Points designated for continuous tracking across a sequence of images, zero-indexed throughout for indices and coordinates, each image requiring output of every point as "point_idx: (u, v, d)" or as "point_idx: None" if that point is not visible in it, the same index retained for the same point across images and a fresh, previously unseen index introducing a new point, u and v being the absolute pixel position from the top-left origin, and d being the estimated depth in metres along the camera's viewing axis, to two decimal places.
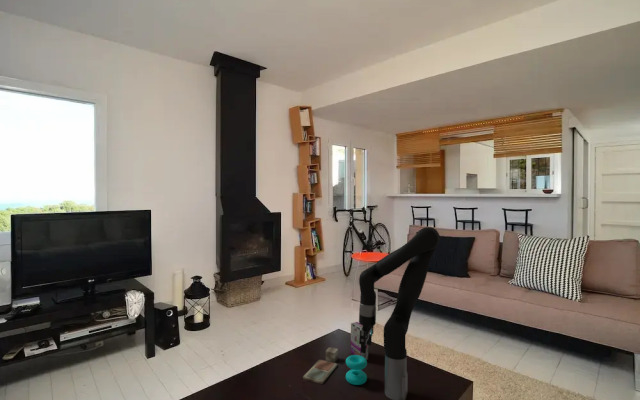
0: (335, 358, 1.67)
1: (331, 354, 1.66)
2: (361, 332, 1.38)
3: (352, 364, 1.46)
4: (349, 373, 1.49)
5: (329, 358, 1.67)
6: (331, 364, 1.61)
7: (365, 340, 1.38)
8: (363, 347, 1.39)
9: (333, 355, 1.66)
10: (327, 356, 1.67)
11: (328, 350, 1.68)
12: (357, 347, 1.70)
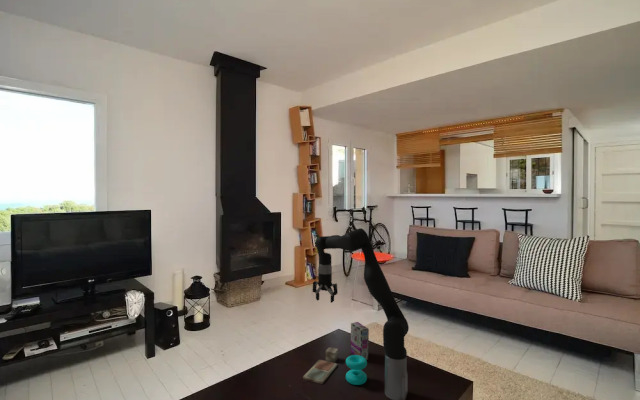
0: (335, 358, 1.67)
1: (331, 354, 1.66)
2: (335, 285, 1.74)
3: (352, 364, 1.46)
4: (349, 373, 1.49)
5: (329, 358, 1.67)
6: (331, 364, 1.61)
7: None
8: (333, 297, 1.75)
9: (333, 355, 1.66)
10: (327, 356, 1.67)
11: (328, 350, 1.68)
12: (357, 347, 1.70)
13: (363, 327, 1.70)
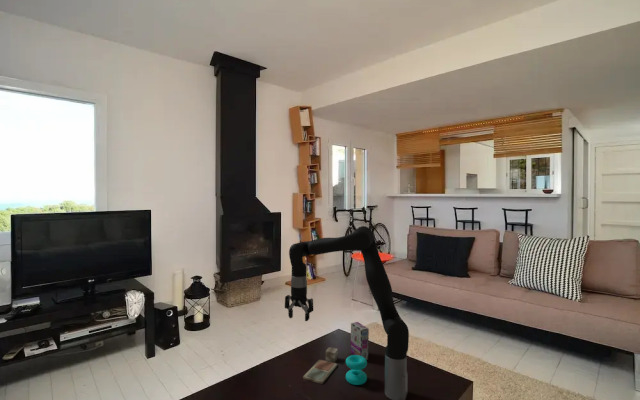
0: (335, 358, 1.67)
1: (331, 354, 1.66)
2: (311, 300, 1.47)
3: (352, 364, 1.46)
4: (349, 373, 1.49)
5: (329, 358, 1.67)
6: (331, 364, 1.61)
7: None
8: (308, 315, 1.48)
9: (333, 355, 1.66)
10: (327, 356, 1.67)
11: (328, 350, 1.68)
12: (357, 347, 1.70)
13: (363, 327, 1.70)
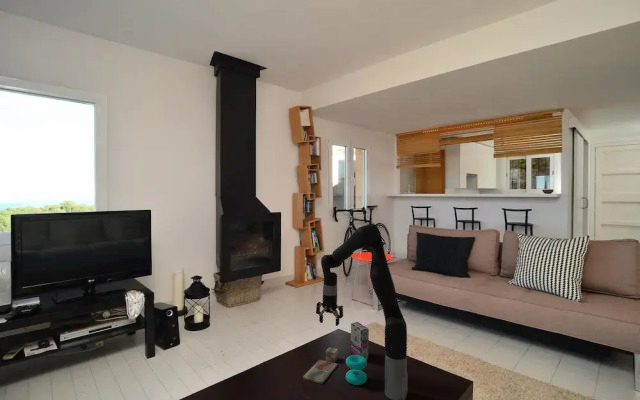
0: (335, 358, 1.67)
1: (331, 354, 1.66)
2: (341, 307, 1.62)
3: (352, 363, 1.46)
4: (349, 373, 1.49)
5: (329, 358, 1.67)
6: (331, 364, 1.61)
7: None
8: (338, 320, 1.63)
9: (333, 355, 1.66)
10: (327, 356, 1.67)
11: (328, 350, 1.68)
12: (357, 347, 1.70)
13: (363, 327, 1.70)
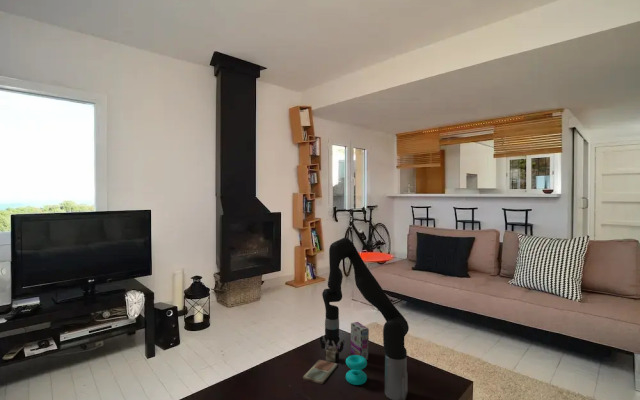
0: (335, 358, 1.67)
1: (331, 354, 1.66)
2: (343, 343, 1.66)
3: (352, 364, 1.46)
4: (349, 373, 1.49)
5: (329, 358, 1.67)
6: (331, 364, 1.61)
7: None
8: (338, 354, 1.68)
9: (333, 355, 1.66)
10: (327, 356, 1.67)
11: (328, 350, 1.68)
12: (357, 347, 1.70)
13: (363, 327, 1.70)
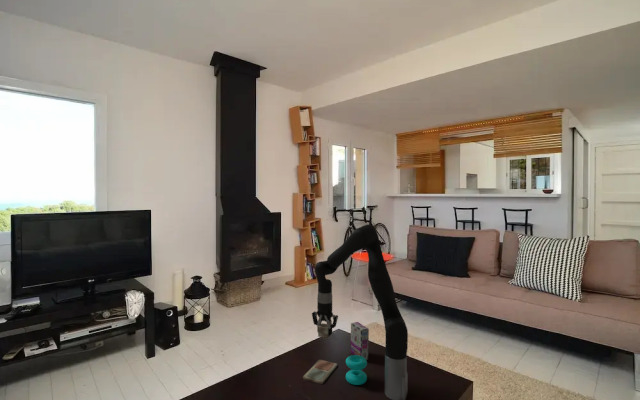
0: None
1: (324, 330, 1.58)
2: (336, 317, 1.57)
3: (352, 364, 1.46)
4: (349, 373, 1.49)
5: (322, 334, 1.58)
6: (331, 364, 1.61)
7: None
8: (331, 330, 1.59)
9: (326, 330, 1.57)
10: (320, 332, 1.59)
11: (321, 326, 1.60)
12: (357, 347, 1.70)
13: (363, 327, 1.70)
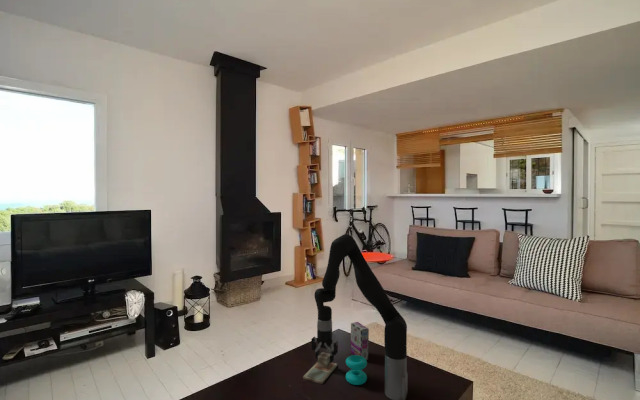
0: (328, 364, 1.58)
1: (323, 360, 1.58)
2: (336, 344, 1.57)
3: (352, 364, 1.46)
4: (349, 373, 1.49)
5: (321, 364, 1.58)
6: (331, 364, 1.61)
7: None
8: (333, 356, 1.59)
9: (325, 361, 1.57)
10: (319, 362, 1.59)
11: (320, 355, 1.60)
12: (357, 347, 1.70)
13: (363, 327, 1.70)
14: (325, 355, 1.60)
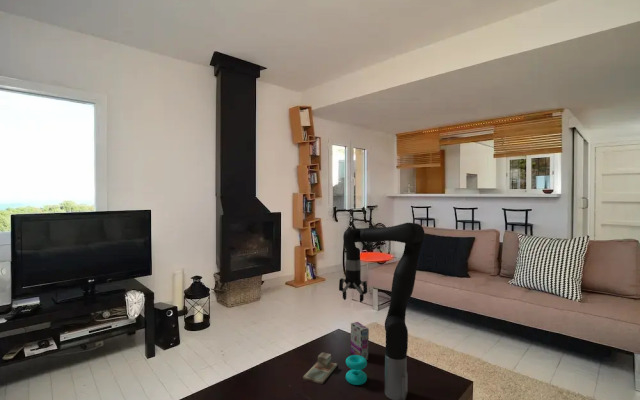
0: (328, 364, 1.58)
1: (323, 360, 1.58)
2: (365, 282, 1.56)
3: (352, 364, 1.46)
4: (349, 373, 1.49)
5: (321, 364, 1.58)
6: (331, 364, 1.61)
7: None
8: (363, 296, 1.58)
9: (325, 361, 1.57)
10: (319, 362, 1.59)
11: (320, 355, 1.60)
12: (357, 347, 1.70)
13: (363, 327, 1.70)
14: (325, 355, 1.60)
